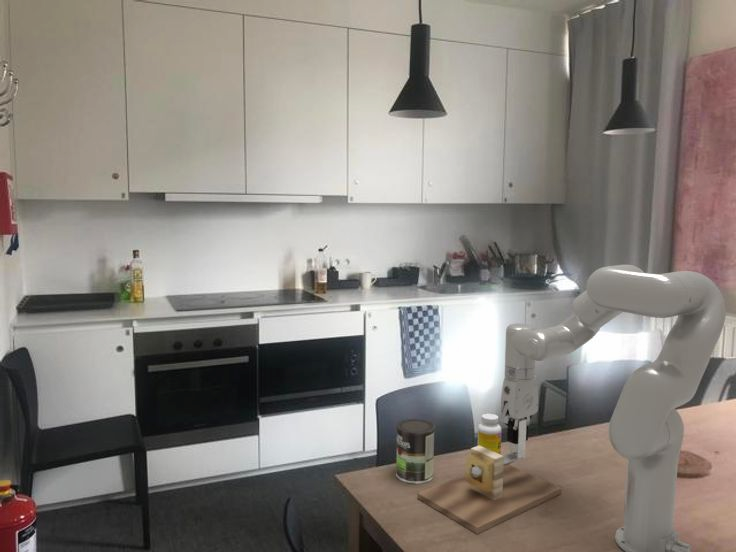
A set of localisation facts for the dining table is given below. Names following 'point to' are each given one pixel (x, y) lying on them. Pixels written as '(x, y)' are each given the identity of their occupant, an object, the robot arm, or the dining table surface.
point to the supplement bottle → (490, 433)
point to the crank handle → (510, 449)
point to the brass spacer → (487, 476)
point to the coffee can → (415, 451)
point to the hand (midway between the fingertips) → (517, 440)
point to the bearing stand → (489, 495)
